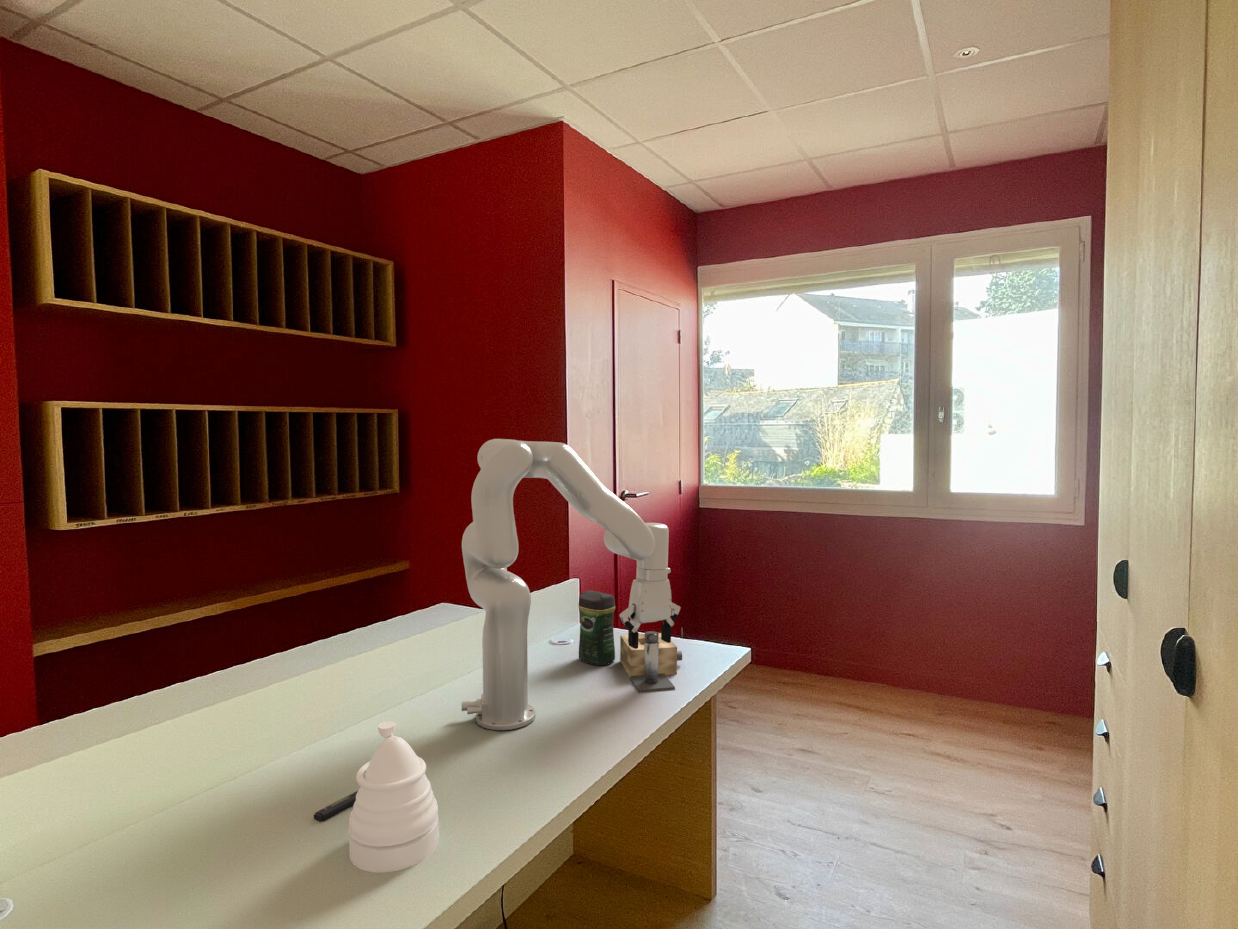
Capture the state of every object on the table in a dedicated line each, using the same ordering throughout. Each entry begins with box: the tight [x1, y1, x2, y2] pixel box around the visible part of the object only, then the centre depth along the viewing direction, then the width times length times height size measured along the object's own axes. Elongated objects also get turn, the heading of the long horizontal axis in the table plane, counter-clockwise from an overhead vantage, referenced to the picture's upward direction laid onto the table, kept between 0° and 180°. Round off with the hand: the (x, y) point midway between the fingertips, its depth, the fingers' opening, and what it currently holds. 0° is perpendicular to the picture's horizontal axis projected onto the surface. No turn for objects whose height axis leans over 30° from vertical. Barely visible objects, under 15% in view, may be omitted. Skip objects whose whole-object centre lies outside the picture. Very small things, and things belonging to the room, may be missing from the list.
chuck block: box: [619, 632, 683, 677], centre depth 179 cm, size 15×12×7 cm
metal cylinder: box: [644, 630, 660, 684], centre depth 167 cm, size 3×3×12 cm
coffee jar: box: [578, 589, 616, 666], centre depth 183 cm, size 10×8×19 cm
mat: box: [629, 674, 676, 693], centre depth 167 cm, size 9×9×1 cm
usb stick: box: [313, 790, 358, 823], centre depth 114 cm, size 10×3×2 cm, turn 147°
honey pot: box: [348, 720, 440, 874], centre depth 103 cm, size 13×13×18 cm
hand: (649, 644), depth 166 cm, fingers open, 9 cm apart
